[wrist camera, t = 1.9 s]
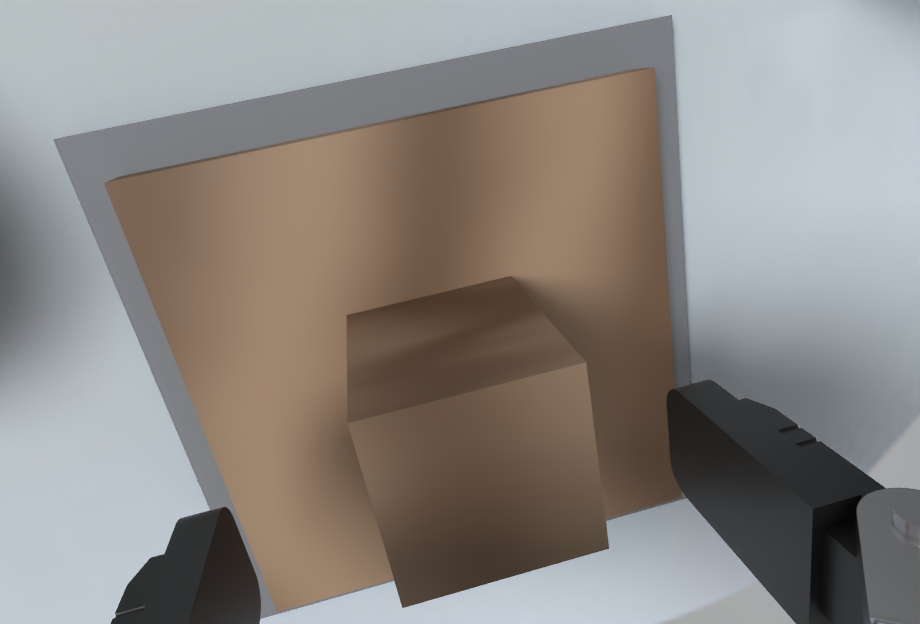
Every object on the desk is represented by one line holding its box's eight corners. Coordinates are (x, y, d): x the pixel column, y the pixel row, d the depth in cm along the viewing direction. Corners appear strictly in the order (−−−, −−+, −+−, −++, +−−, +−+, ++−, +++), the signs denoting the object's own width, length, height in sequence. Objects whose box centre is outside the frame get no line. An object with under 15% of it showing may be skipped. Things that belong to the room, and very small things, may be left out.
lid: (634, 69, 15) (813, 57, 9) (665, 477, 19) (798, 638, 13) (120, 176, 13) (-39, 238, 8) (280, 585, 18) (251, 809, 12)
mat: (659, 17, 15) (671, 14, 14) (686, 483, 20) (696, 494, 19) (65, 137, 13) (53, 139, 13) (259, 603, 19) (256, 620, 18)
